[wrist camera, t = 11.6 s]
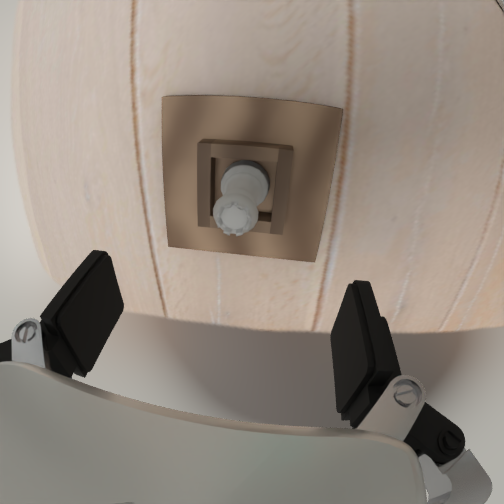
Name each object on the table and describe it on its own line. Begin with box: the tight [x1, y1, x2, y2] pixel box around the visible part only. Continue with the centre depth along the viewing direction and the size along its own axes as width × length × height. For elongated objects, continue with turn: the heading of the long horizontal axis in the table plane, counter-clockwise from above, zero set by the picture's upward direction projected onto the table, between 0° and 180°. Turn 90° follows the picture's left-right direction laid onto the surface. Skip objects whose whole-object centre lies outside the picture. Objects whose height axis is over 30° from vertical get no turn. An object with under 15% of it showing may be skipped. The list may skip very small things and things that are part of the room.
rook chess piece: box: [213, 160, 270, 236], centre depth 23 cm, size 4×4×8 cm
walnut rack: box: [162, 95, 343, 262], centre depth 26 cm, size 16×16×3 cm
